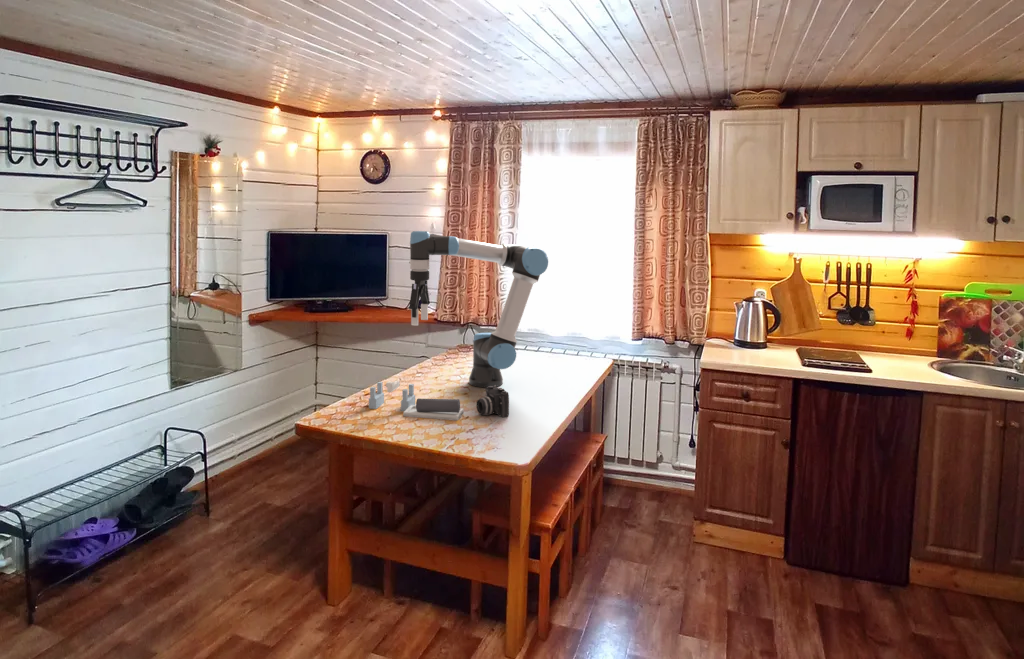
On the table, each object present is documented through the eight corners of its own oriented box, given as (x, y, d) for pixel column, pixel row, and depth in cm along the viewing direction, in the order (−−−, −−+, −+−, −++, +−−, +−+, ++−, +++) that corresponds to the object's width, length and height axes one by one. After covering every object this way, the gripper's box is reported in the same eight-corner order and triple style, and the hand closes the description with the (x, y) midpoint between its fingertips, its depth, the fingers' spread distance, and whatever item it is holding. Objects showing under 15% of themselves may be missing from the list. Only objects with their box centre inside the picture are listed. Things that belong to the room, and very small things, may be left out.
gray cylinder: (460, 409, 267) (459, 397, 266) (457, 414, 262) (456, 401, 261) (420, 409, 269) (419, 396, 268) (416, 413, 265) (415, 400, 263)
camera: (469, 410, 273) (470, 385, 271) (494, 406, 279) (494, 382, 277) (486, 420, 261) (487, 394, 259) (511, 416, 266) (512, 391, 265)
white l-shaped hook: (400, 385, 270) (400, 376, 269) (392, 392, 260) (392, 383, 259) (394, 385, 270) (394, 376, 270) (386, 392, 261) (386, 383, 260)
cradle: (415, 404, 278) (415, 384, 277) (408, 411, 269) (408, 390, 267) (377, 401, 280) (376, 381, 279) (368, 408, 271) (368, 387, 270)
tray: (463, 412, 269) (463, 408, 269) (457, 420, 260) (457, 416, 260) (411, 408, 272) (411, 405, 272) (403, 416, 263) (403, 412, 263)
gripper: (419, 266, 290) (419, 317, 294) (401, 272, 266) (401, 327, 270) (437, 267, 289) (436, 317, 293) (420, 273, 265) (419, 328, 269)
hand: (419, 322), depth 281 cm, fingers open, 13 cm apart
